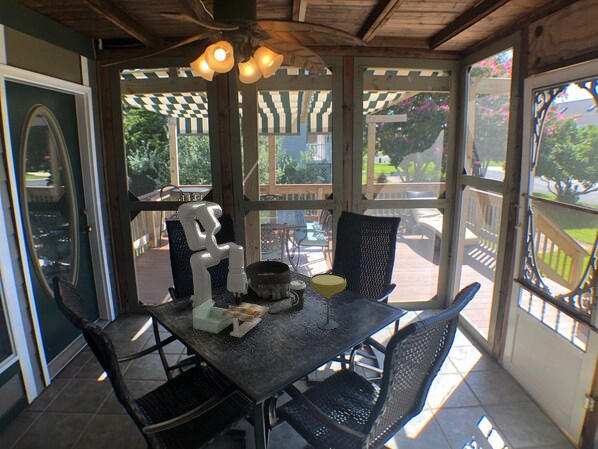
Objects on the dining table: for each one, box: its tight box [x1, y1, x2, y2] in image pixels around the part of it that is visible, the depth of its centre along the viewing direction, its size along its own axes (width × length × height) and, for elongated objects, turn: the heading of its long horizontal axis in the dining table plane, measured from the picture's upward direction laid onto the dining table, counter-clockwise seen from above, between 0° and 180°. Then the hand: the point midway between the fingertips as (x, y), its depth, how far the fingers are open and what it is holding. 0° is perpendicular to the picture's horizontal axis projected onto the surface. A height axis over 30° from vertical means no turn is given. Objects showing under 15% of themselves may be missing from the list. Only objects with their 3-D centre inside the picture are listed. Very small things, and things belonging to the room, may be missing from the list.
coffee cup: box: [289, 280, 307, 311], centre depth 214 cm, size 10×10×15 cm
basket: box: [245, 260, 292, 301], centre depth 239 cm, size 28×35×16 cm
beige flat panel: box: [221, 302, 270, 323], centre depth 191 cm, size 18×16×3 cm
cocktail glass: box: [309, 272, 347, 331], centre depth 192 cm, size 18×18×25 cm
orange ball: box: [246, 308, 254, 315], centre depth 185 cm, size 4×4×4 cm
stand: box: [229, 303, 262, 338], centre depth 192 cm, size 6×20×9 cm, turn 155°
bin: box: [191, 299, 233, 334], centre depth 195 cm, size 15×15×10 cm
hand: (238, 303), depth 198 cm, fingers closed
